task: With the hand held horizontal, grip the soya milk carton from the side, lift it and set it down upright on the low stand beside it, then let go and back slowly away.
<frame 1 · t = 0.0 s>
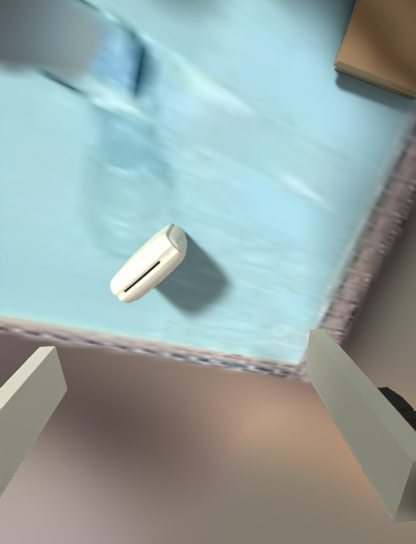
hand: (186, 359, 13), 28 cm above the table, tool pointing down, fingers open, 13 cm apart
photo printer: (158, 249, 40), on the table
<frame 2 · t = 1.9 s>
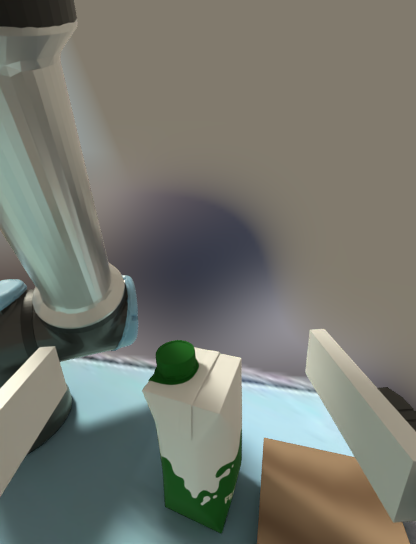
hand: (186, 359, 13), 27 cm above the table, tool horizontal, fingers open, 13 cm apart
soya milk: (204, 489, 32), on the table
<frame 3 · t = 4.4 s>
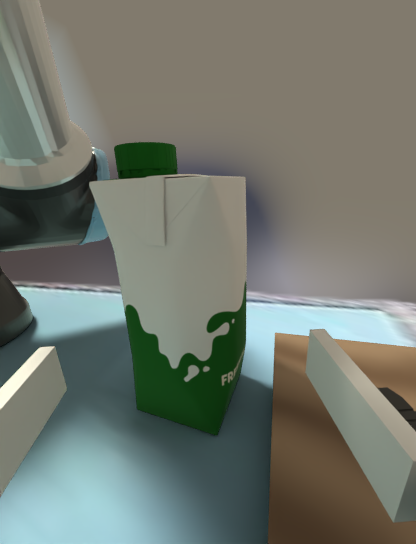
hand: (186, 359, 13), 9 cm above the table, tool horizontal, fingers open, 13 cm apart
soya milk: (193, 392, 23), on the table
stand: (387, 475, 16), on the table
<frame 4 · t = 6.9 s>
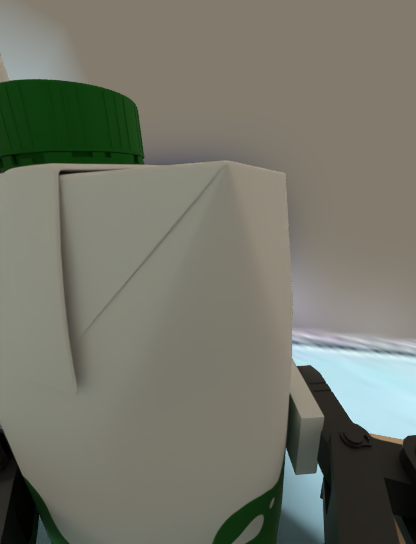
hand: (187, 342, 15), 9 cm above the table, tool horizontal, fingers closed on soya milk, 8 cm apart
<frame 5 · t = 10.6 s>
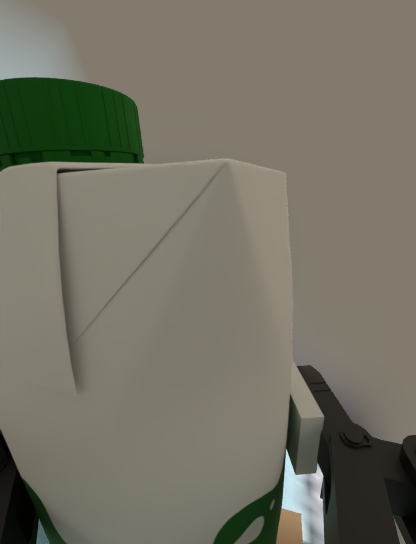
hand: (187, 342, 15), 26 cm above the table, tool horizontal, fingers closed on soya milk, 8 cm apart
when the fingers open (12 cm above the table, at t = 14.7 s): soya milk stays where it is, resting on stand.
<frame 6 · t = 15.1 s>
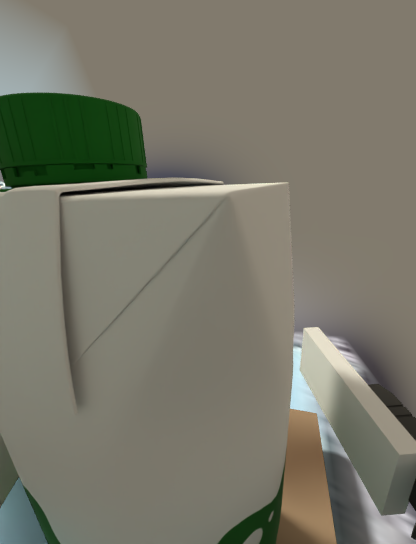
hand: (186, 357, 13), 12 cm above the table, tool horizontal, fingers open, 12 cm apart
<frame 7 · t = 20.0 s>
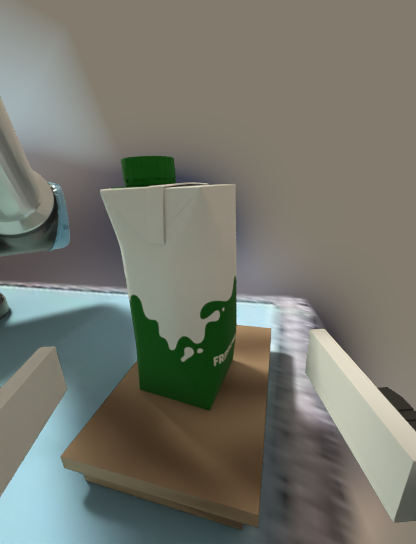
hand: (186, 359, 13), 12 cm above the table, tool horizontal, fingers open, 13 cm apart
soya milk: (190, 375, 25), point 3 cm above the table, touching stand
stand: (197, 397, 26), on the table
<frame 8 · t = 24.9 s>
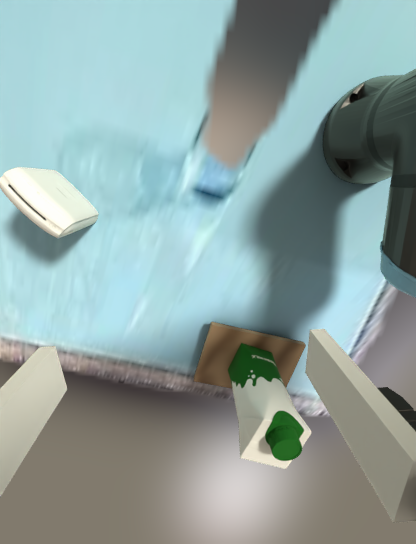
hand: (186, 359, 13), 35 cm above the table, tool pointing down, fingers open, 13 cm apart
soya milk: (249, 360, 52), point 3 cm above the table, touching stand
stand: (246, 354, 55), on the table
photo printer: (73, 199, 43), on the table
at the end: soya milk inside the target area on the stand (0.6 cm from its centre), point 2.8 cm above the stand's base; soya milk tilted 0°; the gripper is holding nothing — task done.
